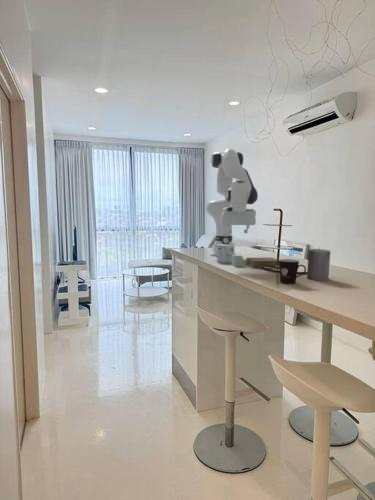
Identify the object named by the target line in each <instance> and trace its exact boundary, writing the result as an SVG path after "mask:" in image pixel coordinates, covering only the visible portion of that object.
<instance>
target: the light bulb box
mask: <svg viewBox="0 0 375 500" xmlns="http://www.w3.org/2000/svg"><path fill="white" fill-rule="evenodd" d="M234 253H235V244H234V245H220V244H218V245H217V256H216V259H217V260H216V262H217V263H231V264H232V255H234Z"/></svg>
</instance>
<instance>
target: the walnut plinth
mask: <svg viewBox="0 0 375 500" xmlns="http://www.w3.org/2000/svg"><path fill="white" fill-rule="evenodd" d="M245 263H246V265H247V266H249V267H250V268H252V269H265V268H264V267H276V265H277V258H275V257H246V262H245ZM278 265H279V261H278Z"/></svg>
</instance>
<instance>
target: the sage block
mask: <svg viewBox="0 0 375 500" xmlns="http://www.w3.org/2000/svg"><path fill="white" fill-rule="evenodd" d="M243 258H244V257H243V255H241V254H236V255H232V263H231V266H233V267H243Z"/></svg>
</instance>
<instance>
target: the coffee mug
mask: <svg viewBox="0 0 375 500" xmlns="http://www.w3.org/2000/svg"><path fill="white" fill-rule="evenodd" d="M278 260H279V268H278V269H279V280H280V283H281V284H285V285H296V280H297V279H298V277H301V276H303V275H304V274H305V273H307V272H306V271H307V267H306V266H305V265H304V264H299V262H300V260H298V259H291V258H284V259H283V258H282V259H278ZM300 267H302V268H303V269H304V271H303V272H302V273H300V274H298V270H299V268H300Z"/></svg>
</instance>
